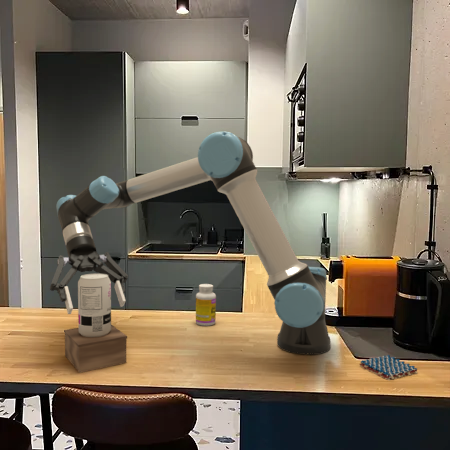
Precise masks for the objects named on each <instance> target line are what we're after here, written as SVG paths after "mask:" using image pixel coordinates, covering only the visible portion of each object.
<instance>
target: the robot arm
mask: <svg viewBox="0 0 450 450" xmlns="http://www.w3.org/2000/svg"><path fill="white" fill-rule="evenodd" d="M197 151H198V152H197V157H194V158H191V159H188V160H184V161H182V162H178V163H175V164H172V165H170V166H169V165H168V166H165V167H163V168H160V169H157V170H153V171H150V172H148V173H145V174H141V175H138V176H136V177H132V178H129V179H126V180H123V181H120V182H117V183H116V182H115V181H114V180H113V179H112V178H110V177H108V176H106V175H101V176H98V178H96V179H95V180H92V182H91V183H90V184H89V185H87V186H86V187H85V188H84V189H83V190H82V191H80V192H79V193H78V194H77V195H75V194H68V195H66V196H62V197H61V198H59V199H58V201H57V202H56V205H55V206H56V207H55V208H56V214H57V215H56V216H57V218H58V221H59V224H60V227H61V232H62V235H63V241H64V243H65V249H66V252H67V255H68V257H64V255H61V254H60V255H58V258H57V263H56V265H57V267H56V269H55V272H54V275H53V277H52V281H51V283H50V286H49V291H51V292H53V291H56V293H57V294H58V295H59V296H58V297H59V301H61V302H64V303H65V308H66V312H67V315H71V314H72V312H73V309H74V306H73V302H72V298H71V295H70V290H69V286H67V285H68V284H69V282H70V281H71V280H72V279H73V277H74V276H75V275H76V274H77V272H80V273H84V272H93V271H94V272H95V273H96V274H107V275H108V277H109V279H110V281H111V283H113V284H114V286H113V287H114V290H115V293H116V294H115V295H116V297H117V300H118V303H119V307H120V308H121V307H124V305H125V303H126V297H125V293H126V288H125V283H126V282H127V281H128V278H129V274H127V273H126V272H125V270H123V268H121V267H120V265H118V263H117V262H116V261H115V260H114V259H113V258H112V257H111V255H110V253H109V252H107V251H105V252H104V254H99V253H98V251H97V247H96V245H95V241H94V239H93V238H94V236H93V235H92V231H91V227H90V223H89V221H90V220H91V219H92V218H94V217H95V216H96V215H97V214H99V213H100V212H101V211H103V210H107V209H108V210H109V209H124V208H128V207H130V206H132V205H134V204H136V203H139V202H143V201H146V200H149V199H152V198H156V197H159V196H163V195H166V194H169V193H173V192H175V191H178V190H182V189H185V188H186V189H187V188H189V187H192V186H195V185H198V184H202V183H205V182H208V181H211V182H213V184H214V186H215V188H216V190H217V192H219V193H222V194H224V195H226V197H227V199H228V200H229V203H230V204H231V206H232V208H233V210H234V212H235V214H236V216H237V217H238V219H239V222H240V224H241V226H242V227H243V229H244V232H245V233H246V235H247V237H248V239H249V241H250V242H251V245H252V247H253V248H254V251H255V252H256V255H257V256H258V258H259V260H260V262H261V263H262V265H263V268H264V269H265V272H266V273H267V276H268V279H267V282H266V285H267V288H268V290H269V291H270V293H271V296H272V298H273V300H274V301H273V302H274V303H273V304H274V309H275V313H276V315H277V317H278V318H279V320H281V322H282V323H281V326H280V330H279V332H278V334H277V337H276V341H277V342H276V343H277V347H279V349H281V350H282V351H286V352H289V353H293V354H299V355H318V354H319V355H320V354H323V353H327V352H329V350H331V344H332V343H331V337H330V336H329V331H328V327H327V323H326V301H327V300H326V297H327V296H326V295H327V279H328V276H327V270H326V269H325V268H323V267H319V266H309V265H308V263H305V262H301V261H300V260H299V259H298V257H297V256H296V253H295V252H294V250H293V248H292V246H291V243H290V242H289V239H288V238H287V237H286V234H285V233H284V230H283V229H282V227H281V225H280V223H279V221H278V219H277V217H276V216H275V214H274V212H273V210H272V208H271V207H270V204H269V202H268V201H267V199H266V197H265V195H264V193H263V191H262V189H261V187H260V185H259V183H258V181H257V180H256V179H257V178H256V177H257V174H258V169H257V166H256V165H255V163H254V161H253V159H254V153H253V150H252V147H251V146H250V144H249V143H248V141H246V140H245V139H243V138H242V137H239V136H237V135H235V134H234V133H232V132H230V131H215V132H213V133H210V134H209V135H207V136H206V137H204V139H203V140H202V142H201V143H200V145H199V147H198V150H197ZM67 263H68V265H70V266H71V267H70V269H69V270H68V271H67V273H66V274H65V276H64V277H63V279H62V280H61V281H60V282H59V283H58V281H59V279H60V276H61V274H62V272H63V267H65V266H66V265H67Z"/></svg>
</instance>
